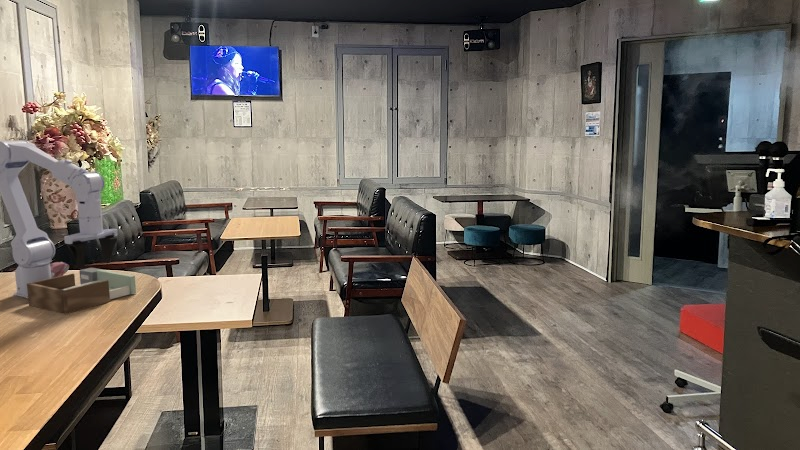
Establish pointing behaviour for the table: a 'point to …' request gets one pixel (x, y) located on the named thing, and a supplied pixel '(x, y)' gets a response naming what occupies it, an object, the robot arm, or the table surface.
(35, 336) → the table surface
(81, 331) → the table surface
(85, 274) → the grey upright block
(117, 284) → the tray
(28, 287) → the dock housing
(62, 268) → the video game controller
